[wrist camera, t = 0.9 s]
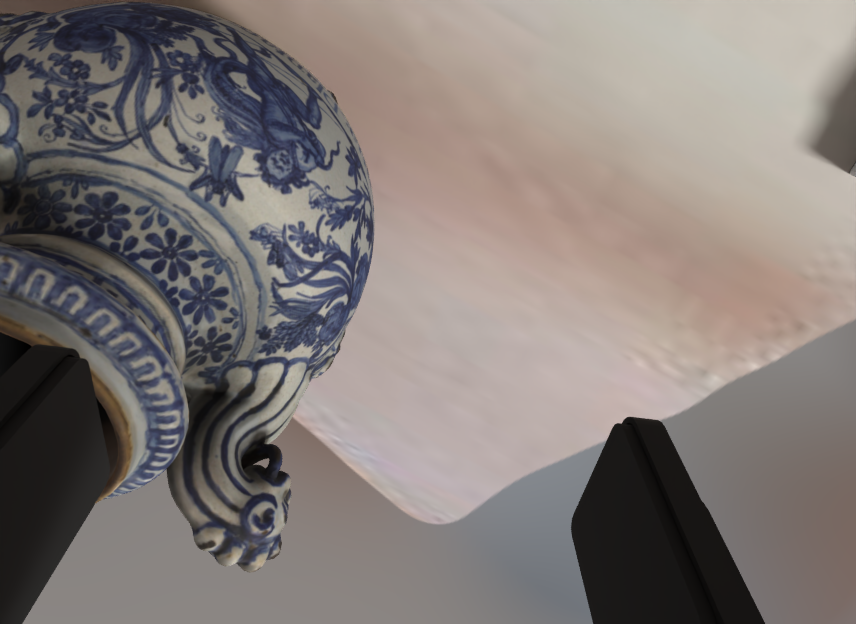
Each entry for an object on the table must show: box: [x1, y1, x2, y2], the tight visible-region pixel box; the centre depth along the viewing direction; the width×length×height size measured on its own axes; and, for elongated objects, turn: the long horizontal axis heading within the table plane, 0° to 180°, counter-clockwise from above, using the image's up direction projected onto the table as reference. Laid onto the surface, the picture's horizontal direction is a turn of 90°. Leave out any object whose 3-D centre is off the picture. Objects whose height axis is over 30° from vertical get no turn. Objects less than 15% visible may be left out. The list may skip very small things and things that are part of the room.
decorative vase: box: [0, 2, 374, 572], centre depth 27 cm, size 21×19×28 cm
